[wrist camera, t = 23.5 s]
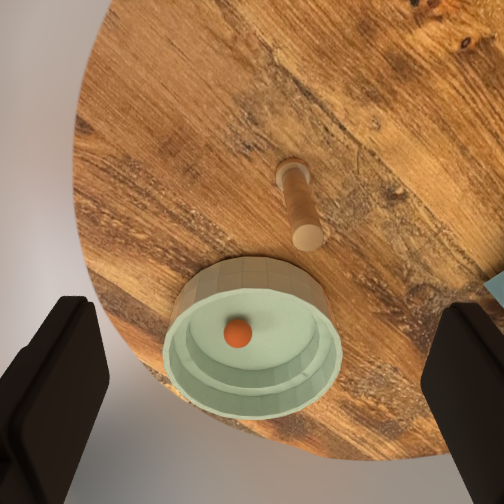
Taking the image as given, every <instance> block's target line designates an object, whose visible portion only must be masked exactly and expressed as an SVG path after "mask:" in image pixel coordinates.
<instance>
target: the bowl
mask: <svg viewBox="0 0 504 504" xmlns="http://www.w3.org/2000/svg"><path fill="white" fill-rule="evenodd" d="M234 319H242V320H244V321H246V322H247V323H248V324H249V325H250V326H251V329H252V338H251V341H250V342H249V343H248V344H247V345H246V346H245V347H242V348H233V347H231V346H230V345H228V344H227V342H226V341H225V339H224V329H225V326H226V325H227V324H228V323H229V322H230V321H232V320H234ZM162 353H163V361H164V368H165V371H166V373H167V375H168V377H169V379H170V381H171V383H172V385H173V386H174V387H175V388H176V389H177V390H178V391H179V392H180V393H181V394H182V395H183V396H184V397H185V398H186V399H187V400H189V401H190V402H192V403H194V404H195V405H197V406H198V407H200V408H201V409H204V410H206V411H209V412H211V413H214V414H217V415H219V416H224V417H229V418H234V419H239V420H264V419H271V418H277V417H283V416H285V415H288V414H291V413H294V412H297V411H300V410H302V409H303V408H305V407H307V406H308V405H310V404H312V403H313V402H315V401H317V400H318V399H319V398H320V397H321V396H322V395H323V394H324V393H325V392H326V391H327V390H328V389H329V388H330V387H331V386H332V384H333V383H334V381H335V379H336V377H337V375H338V374H339V372H340V367H341V362H342V356H343V352H342V346H341V340H340V336H339V332H338V328H337V325H336V321H335V317H334V314H333V310H332V306H331V303H330V301H329V299H328V297H327V295H326V293H325V292H324V290H323V288H322V287H321V285H320V284H319V283H317V282H316V281H315V280H314V279H313V278H312V277H311V276H310V275H309V274H308V273H307V272H305V271H303V270H301V269H299V268H298V267H296V266H294V265H292V264H290V263H288V262H284V261H280V260H276V259H272V258H269V257H239V258H234V259H229V260H224V261H221V262H218V263H216V264H214V265H212V266H210V267H208V268H205V269H203V270H202V271H200V272H199V273H198V274H196V275H195V276H194V277H193V278H192V279H191V280H189V281H188V282H187V283H186V284H185V286H184V287H183V289H182V290H181V292H180V294H179V295H178V297H177V298H176V301H175V304H174V308H173V312H172V315H171V319H170V323H169V326H168V330H167V334H166V338H165V342H164V346H163V350H162Z"/></svg>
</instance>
